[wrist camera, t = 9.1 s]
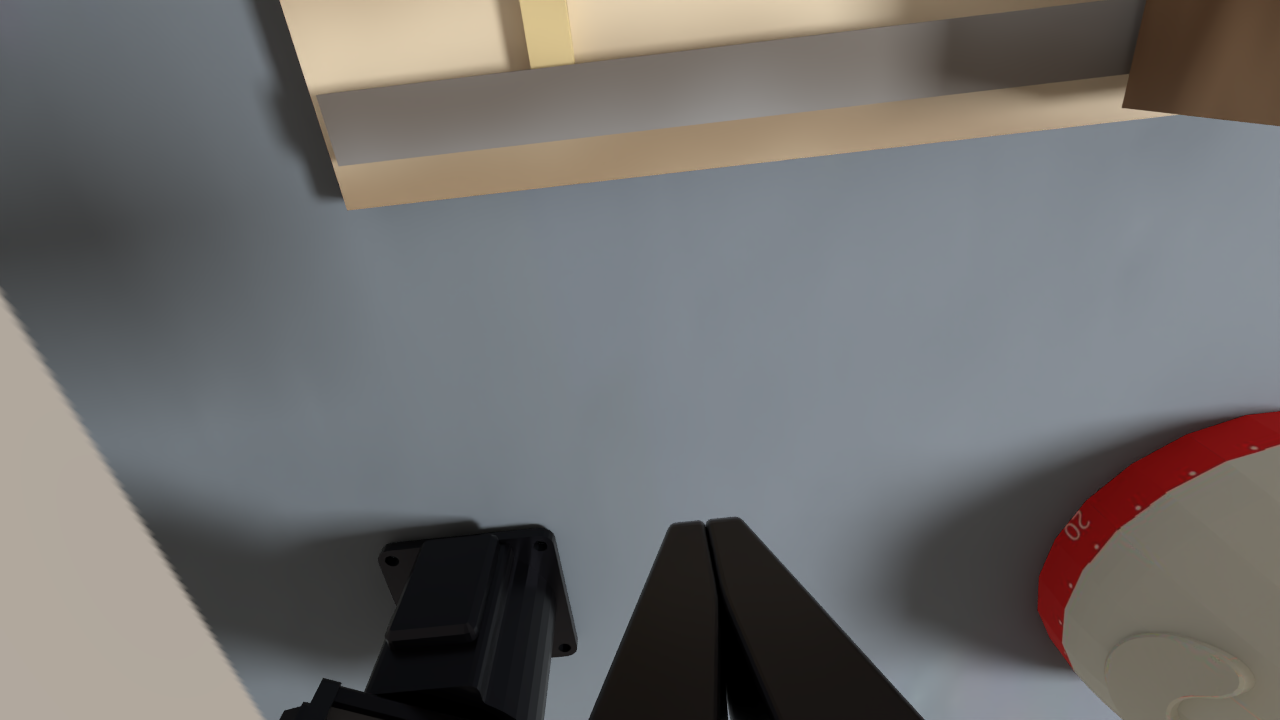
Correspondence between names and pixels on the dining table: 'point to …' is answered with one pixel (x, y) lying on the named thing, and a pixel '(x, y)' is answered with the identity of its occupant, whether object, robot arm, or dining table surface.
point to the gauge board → (685, 83)
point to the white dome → (1177, 580)
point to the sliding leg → (1208, 60)
